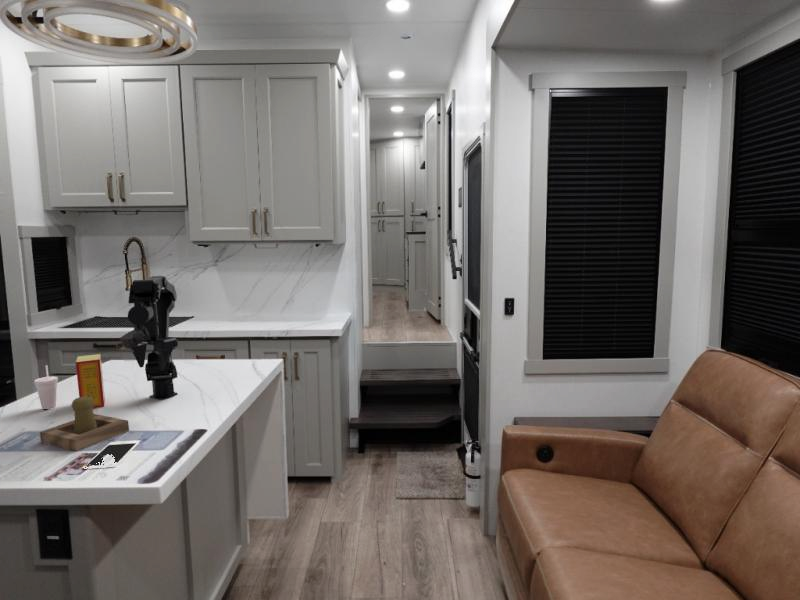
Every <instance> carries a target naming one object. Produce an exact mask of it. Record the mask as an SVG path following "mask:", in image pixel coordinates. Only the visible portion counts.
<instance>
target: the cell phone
mask: <svg viewBox="0 0 800 600" xmlns="http://www.w3.org/2000/svg"><path fill="white" fill-rule="evenodd" d="M140 441H141V440H135V439H134V440H122V441H121V440H120V441H110V442H108V444H107V445H105V446H104V447H103V448H102V449H101V450H100V451H99V452H98V453H97V454H96V455H95V456H94V457H92V460H91V459H90V460H91V461H90V460H89V461H88V462H87V463H88V465H86V464H85V465H86V466H85V465H84V466H82V468H84V469H87V468H89V467H91V466H92V465H94V466H92V468H94V467H95V468H101V467H102V466H103V465H104V464H103V465H101V463H102V460H103V458H102V457H103V455H106V454H109V455H111V454H112V455H113V456H114V457H115V458H114V459H115V462H117V463H118V464H119V463H120V462H121V461H122V460H123V461H124V460H125V459H126V458H127V456H128V455H129V454H130V453H131V452H132V451H133V450H134V449H135V448H136V447H137V446H138V445H139V444H140V443H141V442H140ZM139 442H140V443H139ZM101 455H102V456H101ZM113 456H112V457H113ZM101 458H102V459H101ZM123 461H122V462H123ZM98 462H100V465H101V466H99V463H98ZM103 462H104V461H103ZM115 462H114V463H115ZM122 462H121V463H122ZM96 463H97V464H96ZM121 463H120V464H121ZM89 464H91V466H89ZM118 464H117V465H118ZM120 464H119V465H120ZM119 465H118V466H119ZM87 466H89V467H87ZM115 466H116V465H115ZM85 467H86V468H85Z"/></svg>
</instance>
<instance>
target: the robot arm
mask: <svg viewBox="0 0 800 600" xmlns="http://www.w3.org/2000/svg"><path fill="white" fill-rule="evenodd" d="M128 294H129V295H128V304H133V306H132V307H131V308H130V309H129V310H128V312H127V318H128V320H129V322H130V323H131V324H133V330H130V331H128V332H126V333H125V334H124V335H122V336H121V337H120V339H119V340H120V341H121V347H124V348H125V349H127V350H129V351H131V353H132V355H133V356H134V359H135V360H136V362H137V365H138V367H139V368H143V367H144V365H145V367H144V368H145V369H144V370H145V376H146V381H147V382H151V383H152V384H151V386H152V395H149V398H151V399H158V400H165V399H168V398H171V397H175V396H176V395H178V392H176V391H175V388H174V382H173V380H175V379H177V378H178V371H177V367H176V364H175V363H174V361H173V358H172V357H171V354H172V352H173V350H175V349H176V348H177V347H178V346H179V340H178V339H177V338H176V337H171V336H170V337H169V331H170V329H169V327H170V313H171V312H172V311H173V310H174V308H175V305H176V304H175V303H176V301H177V295H178V294H177V290H176V288H175V285H174V284H173V283H171V282H169V280H168V279H167V277H166V276H164V275H161V276H160V275H158V276H156V275H153V276H149V278H148V279H135V280H133V281H132V283H130V286H129V293H128ZM147 345H148V346H149V345H150V346H153V349H152V351H151V352H148V354H147V359H146V352H147ZM145 360H147V363H145V362H146V361H145Z"/></svg>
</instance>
